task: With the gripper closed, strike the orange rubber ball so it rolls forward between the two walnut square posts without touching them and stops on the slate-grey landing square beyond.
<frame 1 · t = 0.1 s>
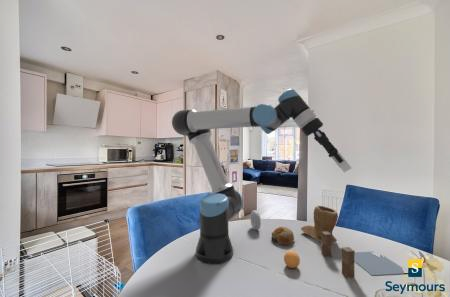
hand: (345, 168, 73), 36 cm above the table, tool tilted 35°, fingers open, 13 cm apart
donut: (255, 229, 105), on the table
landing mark: (374, 262, 75), on the table
gate post left: (326, 255, 80), on the table
ball: (291, 259, 73), on the table
brown boot: (320, 238, 95), on the table
bread roll: (282, 241, 93), on the table
gate post right: (348, 275, 68), on the table
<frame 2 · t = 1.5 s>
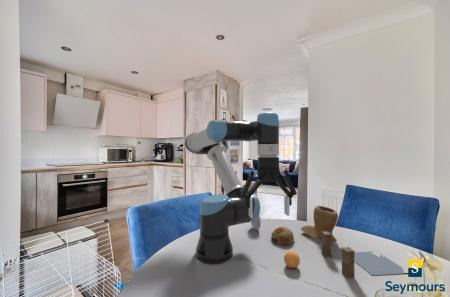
hand: (268, 215, 72), 19 cm above the table, tool pointing down, fingers open, 13 cm apart
nothing on the table moved.
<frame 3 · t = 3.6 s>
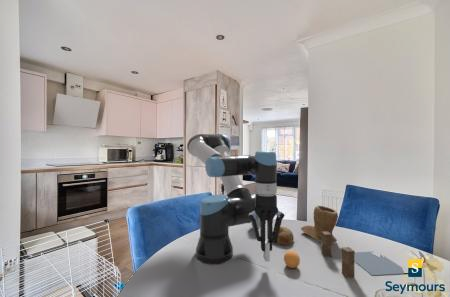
hand: (266, 259, 72), 3 cm above the table, tool pointing down, fingers closed
nothing on the table moved.
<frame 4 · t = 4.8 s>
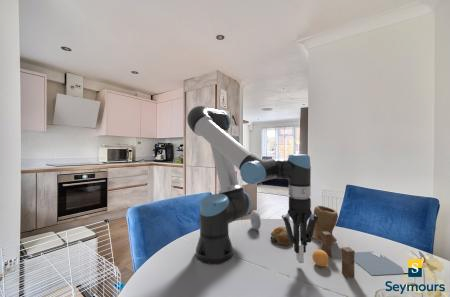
hand: (299, 261, 73), 2 cm above the table, tool pointing down, fingers closed
ball: (320, 257, 74), on the table
everything else where it was.
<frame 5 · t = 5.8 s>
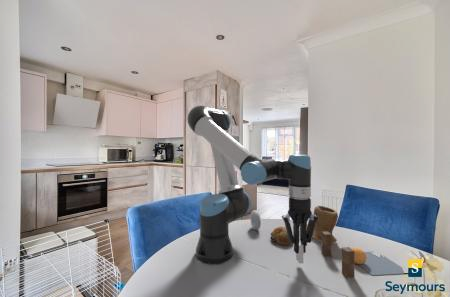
hand: (299, 261, 73), 2 cm above the table, tool pointing down, fingers closed
ball: (357, 255, 75), on the table
everything else where it was.
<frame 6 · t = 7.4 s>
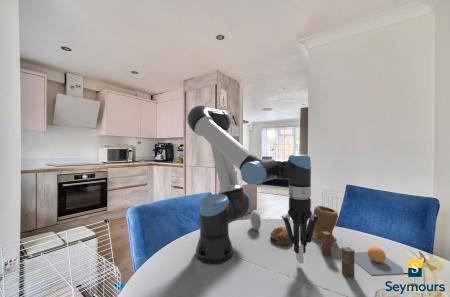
hand: (299, 261, 73), 2 cm above the table, tool pointing down, fingers closed
ball: (376, 254, 75), on the table
everything else where it was.
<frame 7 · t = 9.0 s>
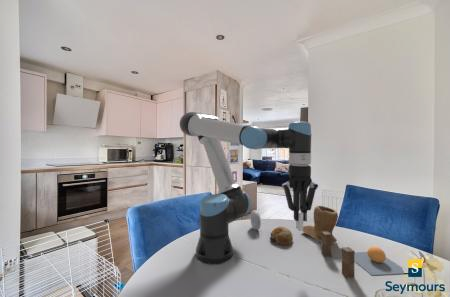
hand: (299, 229, 73), 14 cm above the table, tool pointing down, fingers closed
nothing on the table moved.
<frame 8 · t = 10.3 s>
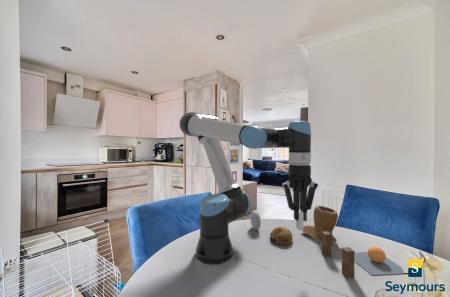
hand: (299, 228, 73), 14 cm above the table, tool pointing down, fingers closed
nothing on the table moved.
at the end: ball 1.1 cm from the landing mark (horizontally); ball never touched gate post left; ball never touched gate post right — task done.
